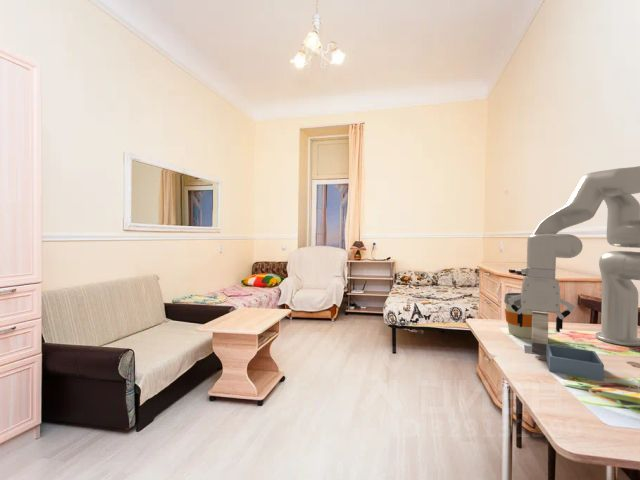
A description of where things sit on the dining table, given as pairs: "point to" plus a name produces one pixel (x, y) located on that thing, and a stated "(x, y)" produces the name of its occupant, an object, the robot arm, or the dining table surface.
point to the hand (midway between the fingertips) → (538, 328)
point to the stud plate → (529, 350)
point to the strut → (539, 331)
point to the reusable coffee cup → (512, 318)
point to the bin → (574, 362)
